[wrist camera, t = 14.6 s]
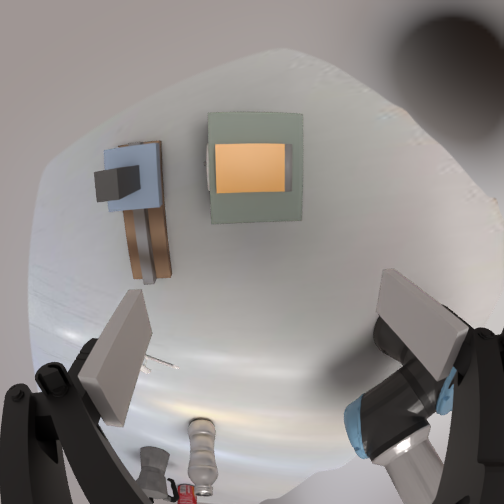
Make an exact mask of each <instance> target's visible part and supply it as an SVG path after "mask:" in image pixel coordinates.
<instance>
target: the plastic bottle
mask: <svg viewBox="0 0 504 504" xmlns="http://www.w3.org/2000/svg"><path fill="white" fill-rule="evenodd" d="M188 435H189V439H190V449H191V450H190V461H189V467H188V476H189V478H190V479H191V481H192V482H193V483H194V484H195V486H194V489H195V495H197V496H202V497H208V496H212V495H213V491H212V490H213V487H212V486H211V485H212V484H213V483H214V482H215V481H216V479H217V477H218V470H217V466H216V462H215V455H214V440H215V435H216V430H215V426H214V425H213V424H212V423H211V422H210V421H208V420H203V419H199V420H195V421H193V422H192V423H191V424H190V425H189V428H188Z"/></svg>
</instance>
